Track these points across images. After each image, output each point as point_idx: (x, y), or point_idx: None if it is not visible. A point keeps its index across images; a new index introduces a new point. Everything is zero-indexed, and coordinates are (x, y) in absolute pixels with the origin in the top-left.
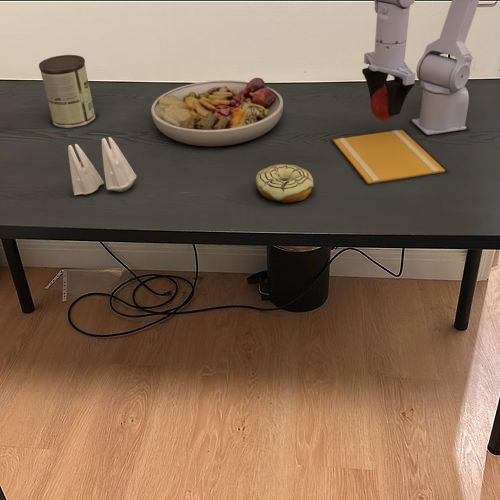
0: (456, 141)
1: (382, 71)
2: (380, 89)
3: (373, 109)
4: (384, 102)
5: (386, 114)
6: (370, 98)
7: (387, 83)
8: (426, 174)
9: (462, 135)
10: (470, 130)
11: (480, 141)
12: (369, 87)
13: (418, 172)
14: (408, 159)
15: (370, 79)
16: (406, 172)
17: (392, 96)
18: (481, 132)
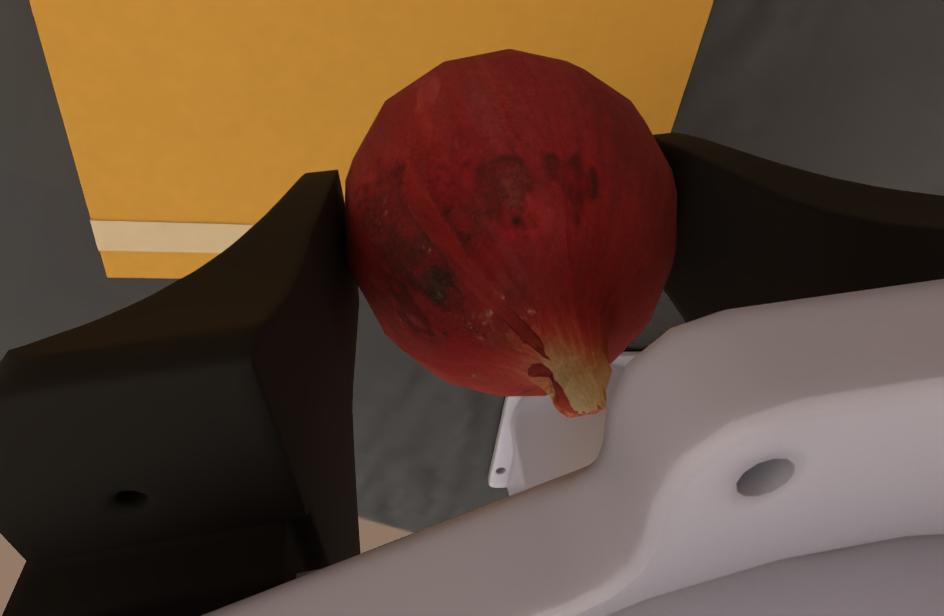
0: (413, 422)
1: (452, 533)
2: (575, 258)
3: (485, 56)
4: (388, 188)
5: (357, 150)
6: (705, 141)
7: (108, 374)
8: (81, 174)
9: (454, 455)
10: (479, 487)
11: (378, 483)
12: (791, 181)
13: (93, 138)
14: (281, 163)
15: (847, 239)
16: (100, 68)
17: (170, 290)
18: (447, 507)
